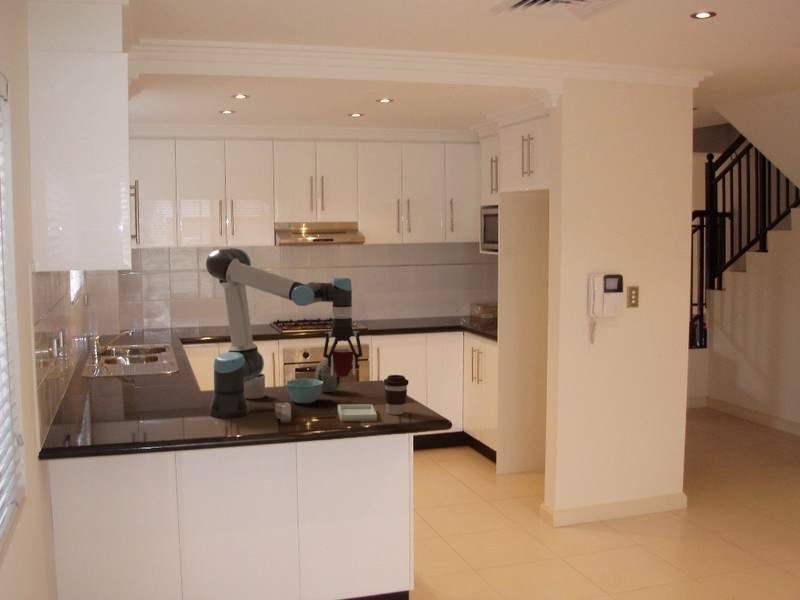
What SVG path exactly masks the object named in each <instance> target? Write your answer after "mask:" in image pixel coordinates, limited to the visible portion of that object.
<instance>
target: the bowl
mask: <svg viewBox="0 0 800 600" xmlns="http://www.w3.org/2000/svg"><path fill="white" fill-rule="evenodd" d="M322 385H323V382H322V381H320V380H316V379H315V378H297V379H290V380H288V381H285V387H286V390H287V392H288V394H289V397H290V400H292V401H293V402H294V403H295V404H311V403H314V402H316V401H317V400H318V399H319V396H320V393H321V391H322V390H321V388H322Z"/></svg>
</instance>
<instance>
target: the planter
mask: <svg viewBox="0 0 800 600" xmlns="http://www.w3.org/2000/svg"><path fill="white" fill-rule="evenodd" d="M244 395H245V398H246V400H259V399H262V398H264V397H265V396H266V375H265V373H262V372H261V373H260V374H259V375H258V376H257V377H256V378H254V379H252V380H249V381H246V382H244Z"/></svg>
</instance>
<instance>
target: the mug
mask: <svg viewBox="0 0 800 600" xmlns="http://www.w3.org/2000/svg"><path fill="white" fill-rule="evenodd" d="M332 358H333V363H334V369H335V372H336V374H337V376H340V377H341V378H342V377H343V378H345V377H346V378H347V377H348V376H349V374H350V372H351V370H352V368H353V358H354V354H353V351H352V350H351V349H347V348H340V349H339V348H338V349H336V348H335V350H334V351H333V355H332Z"/></svg>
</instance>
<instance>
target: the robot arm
mask: <svg viewBox="0 0 800 600" xmlns="http://www.w3.org/2000/svg"><path fill="white" fill-rule="evenodd" d="M205 266H206V270H207V272H208V274H209V275H210V276H211V277H212V278H215V279H216V280H218V281H219V284H220V285H221V286H222V287H223V290H224V298H225V304H226V305H225V306H226V312H227V320H228V321H227V322H228V326H229V327H228V329H229V334H230V344H231V346H230V347H229V349H228V352H224V353H221V354H218V355H217V356H215V357H214V360H213V361H214V363H213V397H212V400H211V402H210V407H209V415H210V416H212V417H215V418H222V419H225V418H226V419H231V418H239V417H244V416H247V415H248V414H249V411H250V407H249V405H248V402H247V399H246V398H245V395H244V382H246V381H249V380H252V379H254V378H256V377H257V376H258V375H259V374H260V373H262V372H263V370H264V366H265V361H264V358H263V355H262V354H261V353H260V352H259V351H258V345H257V344H255V343H254V339H253V333H252V327H251V326H252V325H251V318H250V310H249V303H248V302H249V301H248V295H247V287H251V288H254V289H257V290H259V291H262V292H265V293H268V294H270V295H271V294H272V295H273V296H277V297H280V298H283V299H286V300H289V301H292V302H293V303H294V304H295V305H296V306H300V307H306V306H309V305H312V304H316V303H322V302H324V303H328V302H329V303H332V317H333V318H332V329H331V331H325V332H324V334H325V335H324V336H325V340H324V341H325V342H324V349H323V354H322V355H323V358H325V359H328V367H331V376H333V351H334V350H336V348H337V344H338V343H339V342H347V343H348V346H349V347H350V350H352V351H353V361H352V375H353V376H356V367H358V365H359V358H360V357H363V352H362V345H361V340H360V339H361V338H360V337H361V336H360V335H361V332H360V331H359V330H357V331H355V330H353V318H352V316H353V307H352V306H353V305H352V304H353V301H352V299H353V295H352V294H353V292H352V291H353V289H352V288H353V287H352V279H351V278H349V277H333V278H332V280H331V282H315V281H311V282H305V283H302V282H299V281H296V280H293V279H290V278H287V277H284V276H282V275H278V274H275V273H272V272H269V271H266V270H263V269H260V268H257V267H254V266H252V262H251V258H250V257H249V255H248V254H247V252H245V251H244V250H242V249H239V248H234V247H233V248H224V249H223V248H221V249H220V248H219V249H216V250H214V251H212V252H211V253H210V254H208V256H207V258H206V262H205ZM246 286H247V287H246ZM353 334H354V335H353ZM331 336H333V337H334V340H333V343H332V344H331V348H330V350H329V349H328V348H329V342H330V338H331ZM352 336H354V337H355V339H356V340H355V341H356V346H357V351H358V353H357V351H356V349H355V347H354V345H353V343H352V340H351V337H352ZM328 350H329V353H328Z"/></svg>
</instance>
